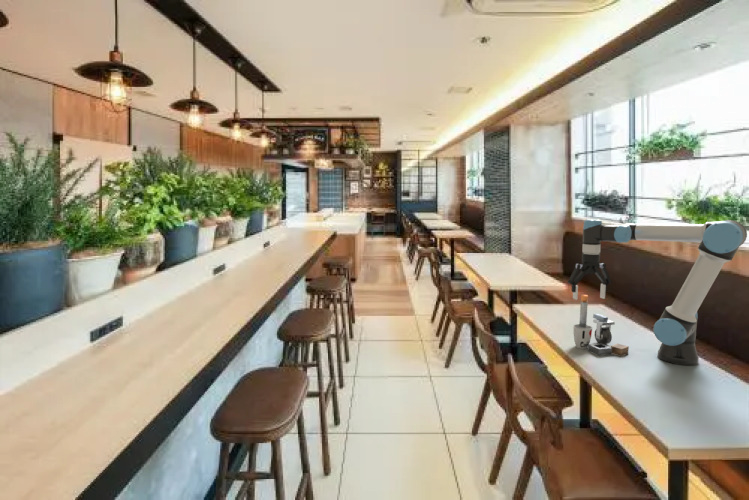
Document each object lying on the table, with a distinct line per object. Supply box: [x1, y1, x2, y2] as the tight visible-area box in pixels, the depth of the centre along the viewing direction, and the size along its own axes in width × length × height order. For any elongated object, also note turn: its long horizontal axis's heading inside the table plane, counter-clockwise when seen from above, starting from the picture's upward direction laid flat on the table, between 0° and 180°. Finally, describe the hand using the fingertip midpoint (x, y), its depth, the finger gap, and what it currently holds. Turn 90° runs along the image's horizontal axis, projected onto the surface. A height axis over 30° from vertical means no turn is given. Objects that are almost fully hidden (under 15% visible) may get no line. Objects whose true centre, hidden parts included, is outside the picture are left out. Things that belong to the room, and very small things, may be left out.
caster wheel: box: [592, 313, 616, 345], centre depth 228 cm, size 10×7×13 cm
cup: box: [573, 323, 593, 350], centre depth 223 cm, size 8×8×10 cm
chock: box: [610, 343, 629, 357], centre depth 215 cm, size 5×6×4 cm
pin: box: [579, 294, 589, 328], centre depth 221 cm, size 3×3×15 cm
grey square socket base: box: [587, 342, 613, 357], centre depth 216 cm, size 7×7×3 cm
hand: (588, 298), depth 219 cm, fingers open, 13 cm apart
